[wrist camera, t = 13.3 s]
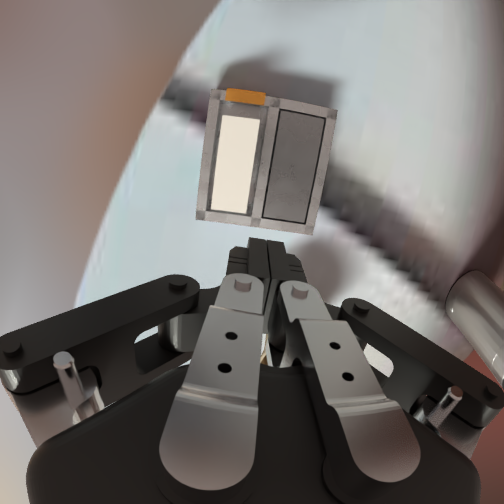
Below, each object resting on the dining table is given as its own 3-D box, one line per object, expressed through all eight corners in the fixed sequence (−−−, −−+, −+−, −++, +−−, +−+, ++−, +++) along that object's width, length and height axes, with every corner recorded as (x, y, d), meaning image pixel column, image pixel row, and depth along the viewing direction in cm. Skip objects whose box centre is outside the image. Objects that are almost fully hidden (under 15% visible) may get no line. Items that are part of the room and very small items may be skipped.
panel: (257, 120, 29) (260, 119, 22) (246, 194, 32) (245, 213, 25) (227, 116, 28) (222, 115, 22) (218, 190, 32) (210, 209, 25)
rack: (328, 108, 28) (338, 107, 25) (306, 224, 34) (312, 235, 31) (215, 89, 28) (211, 85, 24) (200, 209, 33) (195, 220, 30)
